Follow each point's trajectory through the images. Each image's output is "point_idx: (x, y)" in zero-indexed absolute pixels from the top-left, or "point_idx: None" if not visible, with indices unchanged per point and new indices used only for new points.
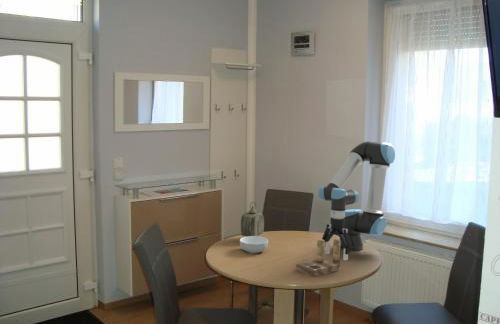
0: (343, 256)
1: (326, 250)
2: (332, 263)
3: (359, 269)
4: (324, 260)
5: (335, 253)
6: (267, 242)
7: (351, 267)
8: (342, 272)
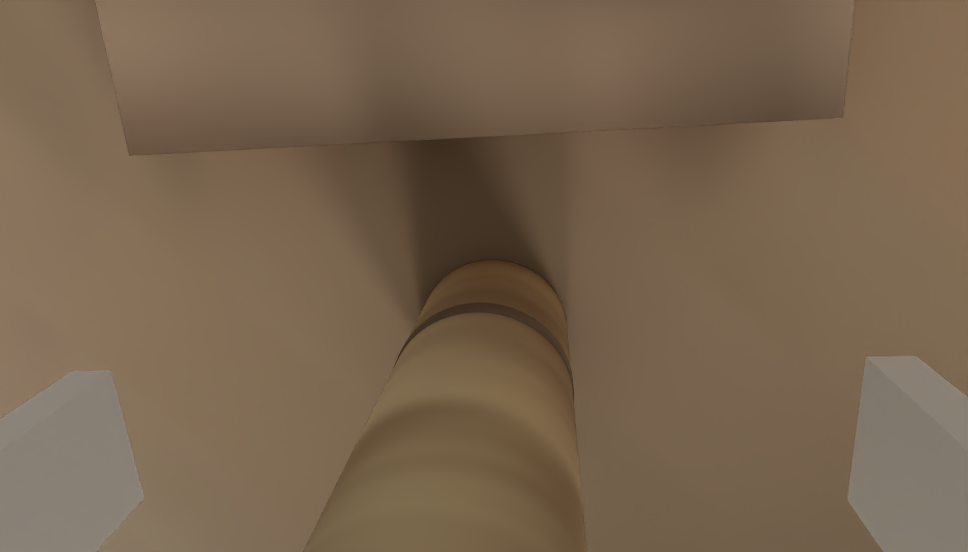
0: (21, 428)
1: (930, 432)
2: (302, 105)
3: (123, 524)
4: (634, 83)
5: (389, 421)
6: None
7: (267, 491)
8: (78, 141)
